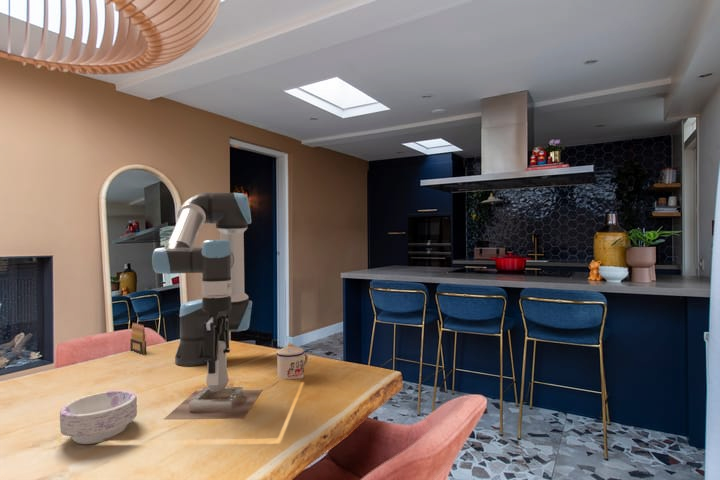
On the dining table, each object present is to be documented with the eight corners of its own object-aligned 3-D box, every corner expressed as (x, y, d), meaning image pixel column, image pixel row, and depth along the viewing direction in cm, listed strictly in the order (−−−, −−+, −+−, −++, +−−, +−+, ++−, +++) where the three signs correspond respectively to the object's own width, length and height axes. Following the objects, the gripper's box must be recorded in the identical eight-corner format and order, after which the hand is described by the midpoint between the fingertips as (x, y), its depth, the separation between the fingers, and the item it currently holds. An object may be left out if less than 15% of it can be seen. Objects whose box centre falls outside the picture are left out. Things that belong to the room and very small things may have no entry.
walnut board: (195, 394, 122) (195, 390, 122) (262, 393, 122) (262, 389, 122) (163, 423, 102) (163, 419, 102) (243, 422, 102) (243, 418, 102)
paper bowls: (42, 446, 90) (42, 410, 91) (102, 418, 105) (102, 387, 105) (97, 455, 86) (96, 417, 87) (151, 424, 101) (151, 392, 101)
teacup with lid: (289, 384, 129) (288, 347, 130) (271, 378, 135) (270, 343, 135) (316, 375, 139) (316, 340, 139) (298, 370, 144) (298, 337, 145)
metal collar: (204, 396, 117) (204, 387, 117) (243, 395, 117) (243, 386, 117) (189, 411, 106) (189, 402, 106) (231, 411, 106) (231, 401, 106)
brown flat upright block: (130, 350, 174) (130, 322, 174) (134, 349, 176) (134, 322, 176) (141, 354, 168) (141, 325, 168) (146, 353, 169) (146, 324, 169)
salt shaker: (224, 393, 109) (224, 344, 109) (202, 393, 109) (202, 344, 109) (231, 385, 115) (231, 339, 115) (211, 385, 115) (210, 339, 115)
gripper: (218, 300, 103) (219, 392, 103) (240, 292, 122) (241, 370, 121) (189, 300, 103) (189, 393, 102) (215, 292, 122) (215, 370, 121)
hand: (217, 380), depth 112 cm, fingers closed on salt shaker, 6 cm apart
